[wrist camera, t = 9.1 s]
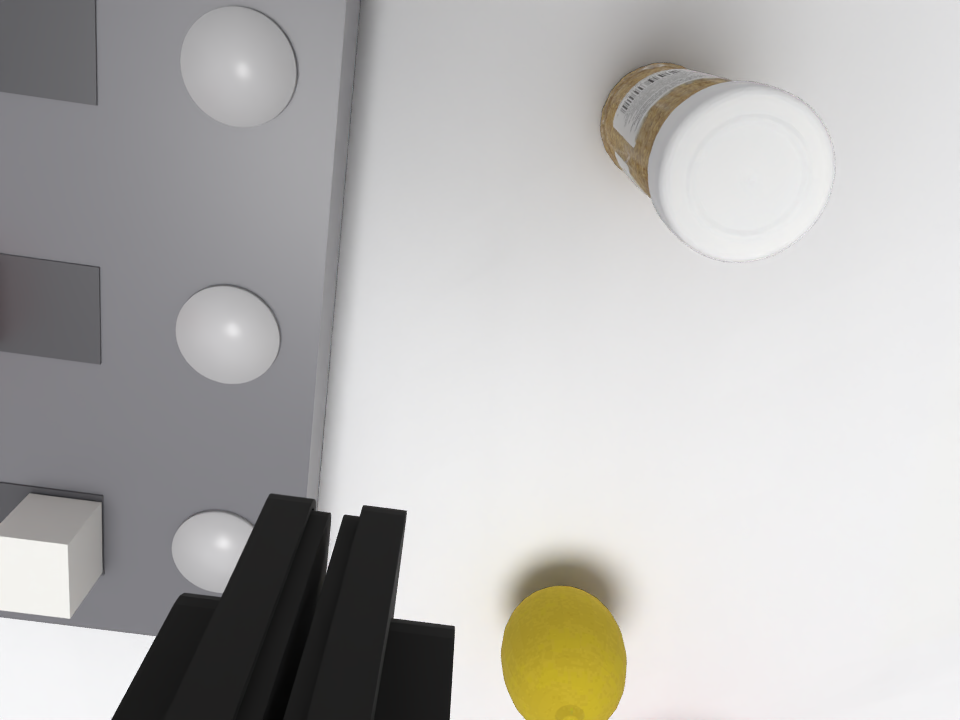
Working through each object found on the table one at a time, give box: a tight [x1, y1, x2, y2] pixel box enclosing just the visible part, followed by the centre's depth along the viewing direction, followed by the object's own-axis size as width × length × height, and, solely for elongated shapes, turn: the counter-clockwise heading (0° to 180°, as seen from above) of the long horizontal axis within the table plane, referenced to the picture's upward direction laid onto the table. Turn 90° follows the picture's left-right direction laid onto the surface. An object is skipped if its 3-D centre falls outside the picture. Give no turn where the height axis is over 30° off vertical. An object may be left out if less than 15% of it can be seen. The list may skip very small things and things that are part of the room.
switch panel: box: [0, 0, 361, 636], centre depth 36 cm, size 30×16×4 cm, turn 172°
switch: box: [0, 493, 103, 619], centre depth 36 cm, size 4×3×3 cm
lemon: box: [501, 586, 627, 720], centre depth 40 cm, size 6×6×8 cm
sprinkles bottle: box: [600, 63, 835, 263], centre depth 29 cm, size 5×5×14 cm
